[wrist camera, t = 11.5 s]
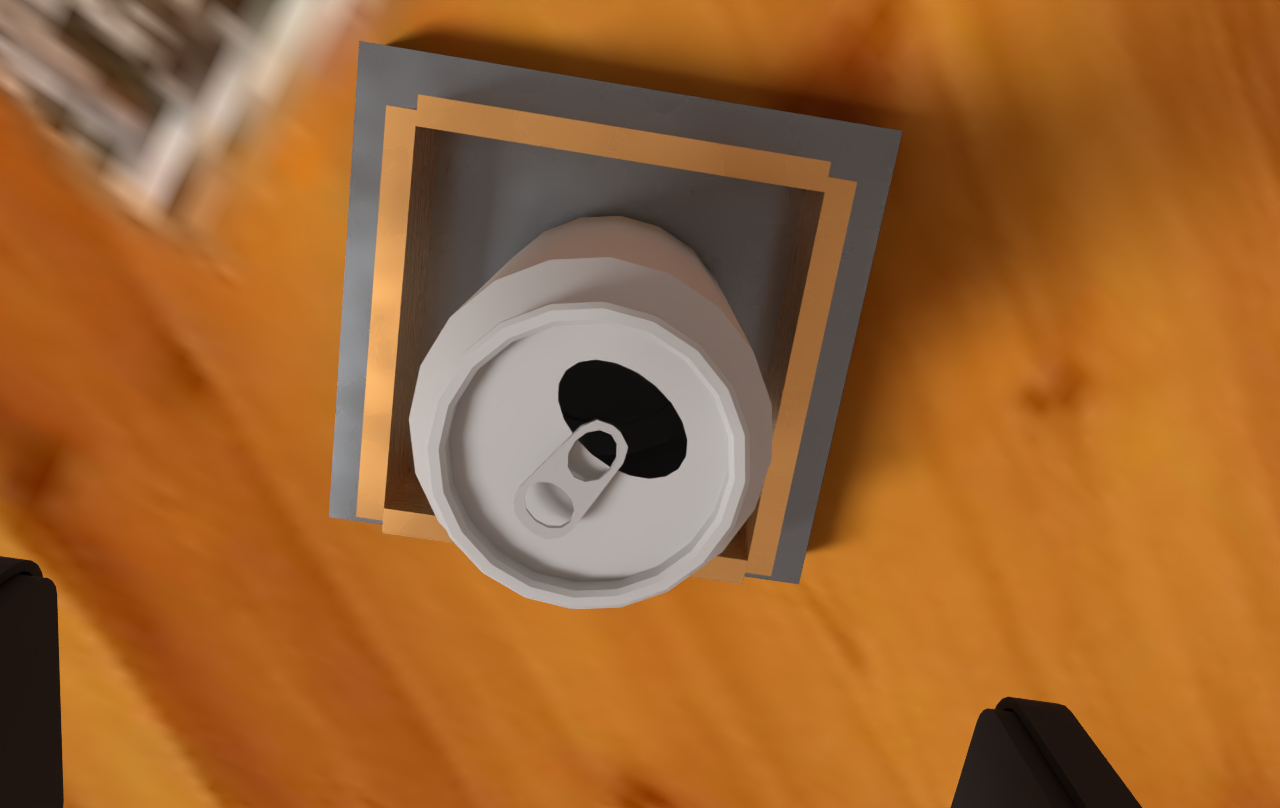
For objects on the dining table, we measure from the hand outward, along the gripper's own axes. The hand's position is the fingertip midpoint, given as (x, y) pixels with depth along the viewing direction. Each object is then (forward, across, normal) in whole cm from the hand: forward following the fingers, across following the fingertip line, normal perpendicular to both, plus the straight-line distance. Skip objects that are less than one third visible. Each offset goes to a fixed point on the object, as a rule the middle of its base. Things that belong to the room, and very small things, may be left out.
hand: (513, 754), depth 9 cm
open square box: (+22, 0, 0) cm, 22 cm away
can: (+20, 0, 0) cm, 20 cm away
